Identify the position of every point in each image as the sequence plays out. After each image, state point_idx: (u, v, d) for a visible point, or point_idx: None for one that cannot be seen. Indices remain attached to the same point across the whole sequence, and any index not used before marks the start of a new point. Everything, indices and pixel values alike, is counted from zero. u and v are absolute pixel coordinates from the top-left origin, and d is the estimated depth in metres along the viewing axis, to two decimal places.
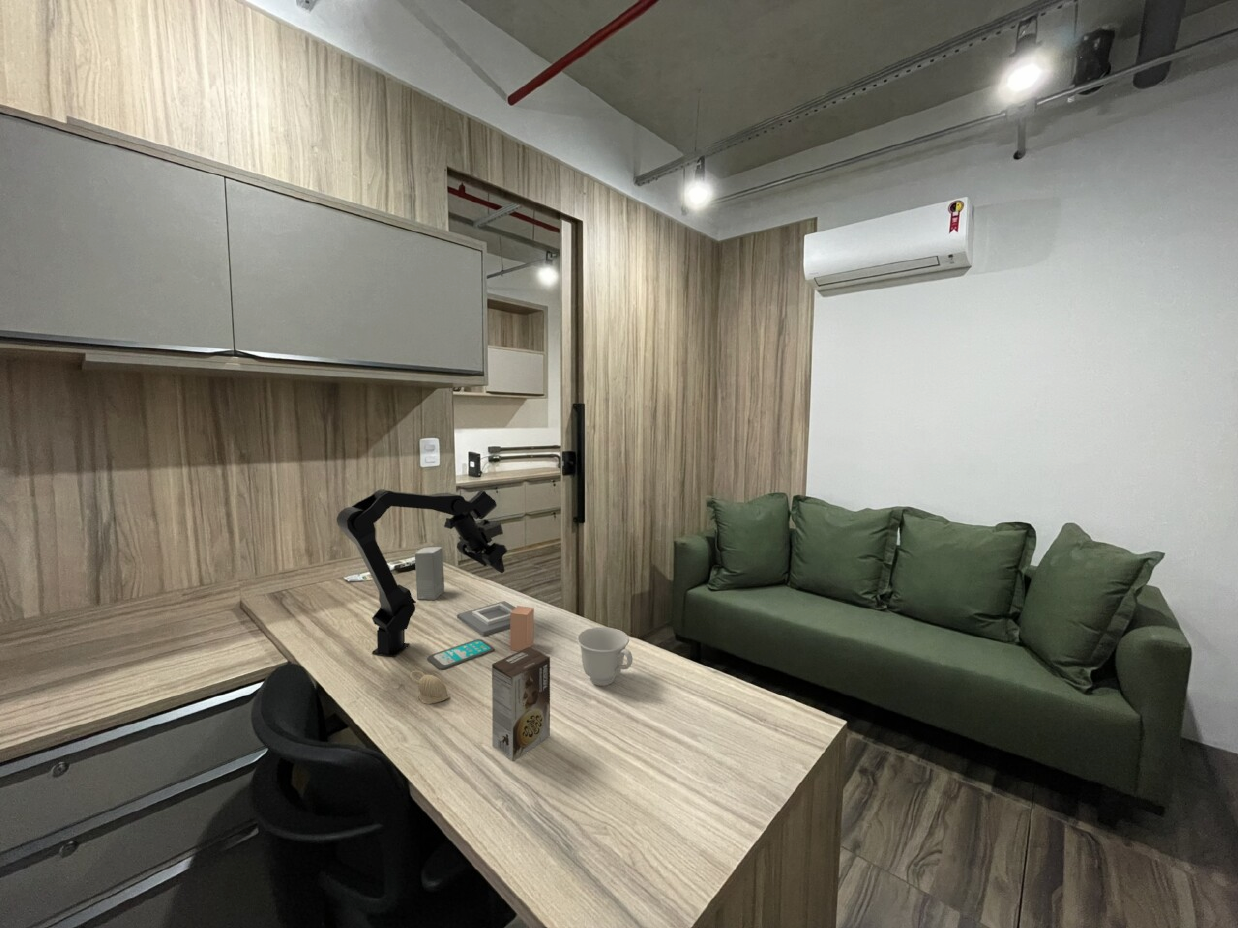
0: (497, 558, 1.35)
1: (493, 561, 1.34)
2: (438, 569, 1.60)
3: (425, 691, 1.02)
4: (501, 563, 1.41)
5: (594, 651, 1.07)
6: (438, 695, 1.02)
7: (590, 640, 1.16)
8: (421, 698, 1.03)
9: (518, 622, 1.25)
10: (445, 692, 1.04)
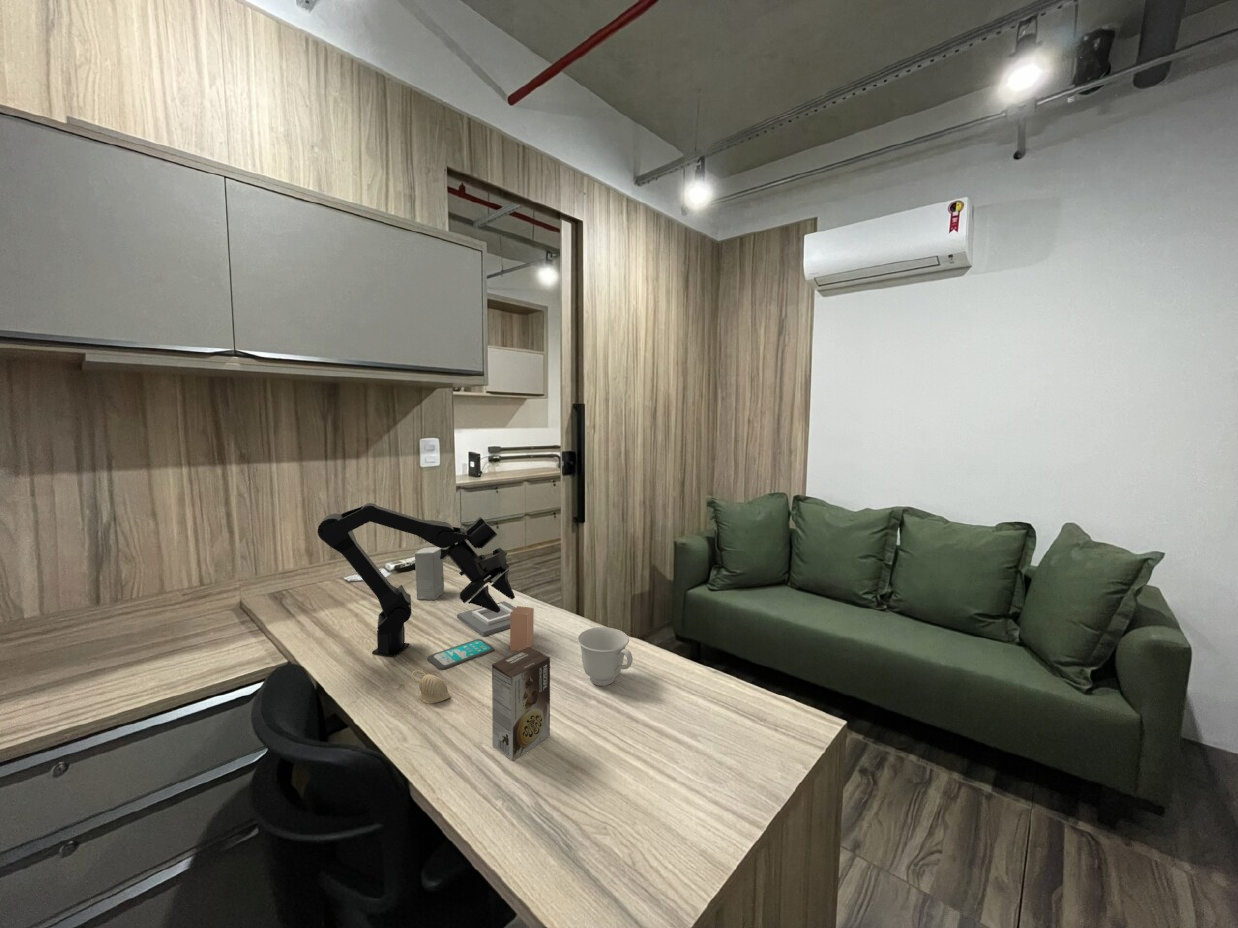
0: (467, 597, 1.19)
1: (463, 600, 1.20)
2: (438, 569, 1.60)
3: (426, 691, 1.02)
4: (490, 601, 1.22)
5: (594, 651, 1.07)
6: (439, 695, 1.02)
7: (590, 640, 1.16)
8: (422, 698, 1.03)
9: (518, 622, 1.25)
10: (446, 692, 1.04)
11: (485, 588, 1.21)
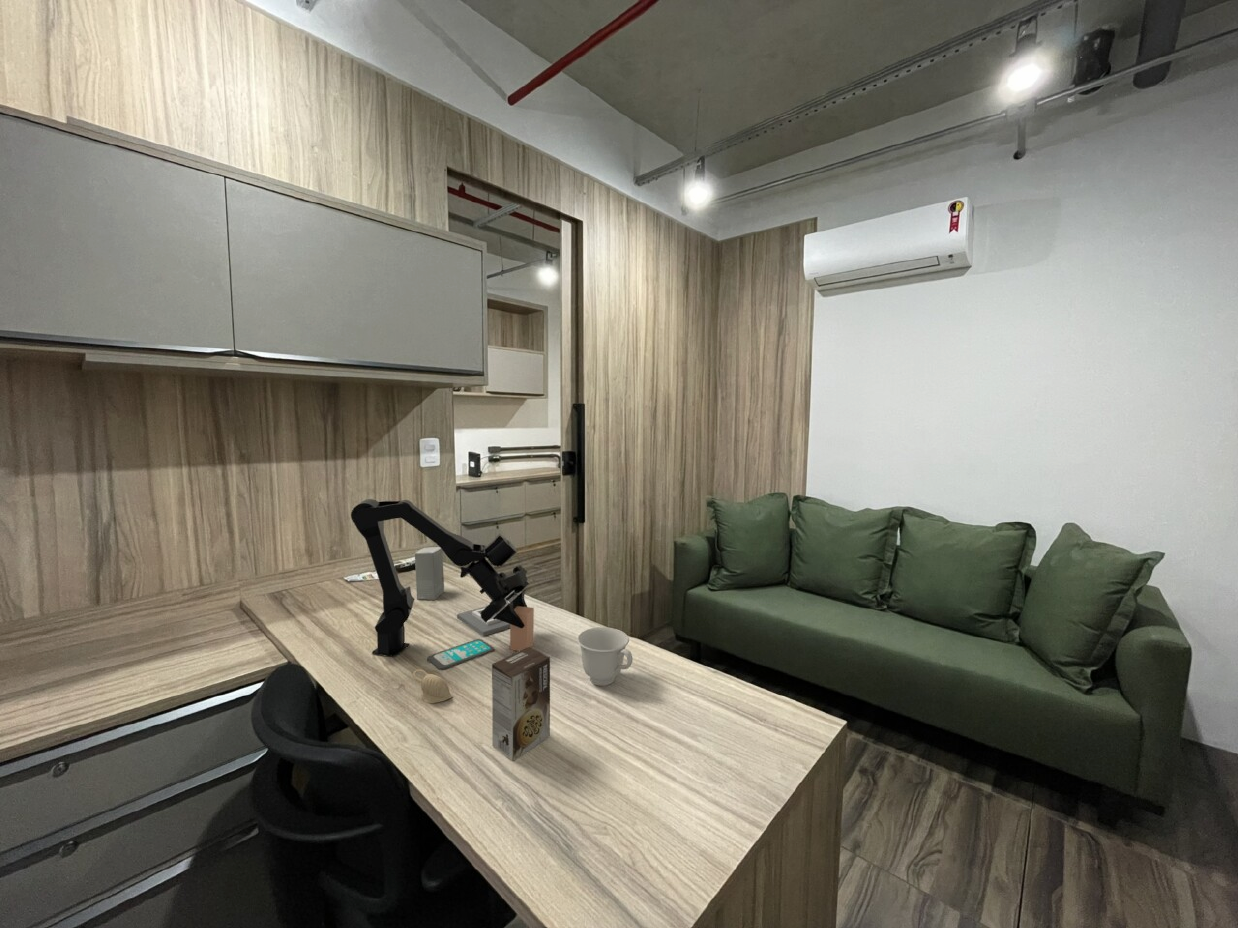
0: (489, 616, 1.19)
1: (485, 619, 1.19)
2: (438, 569, 1.60)
3: (427, 691, 1.02)
4: (514, 617, 1.23)
5: (594, 651, 1.07)
6: (440, 695, 1.02)
7: (590, 640, 1.16)
8: (424, 697, 1.03)
9: None
10: (448, 692, 1.04)
11: (510, 604, 1.22)
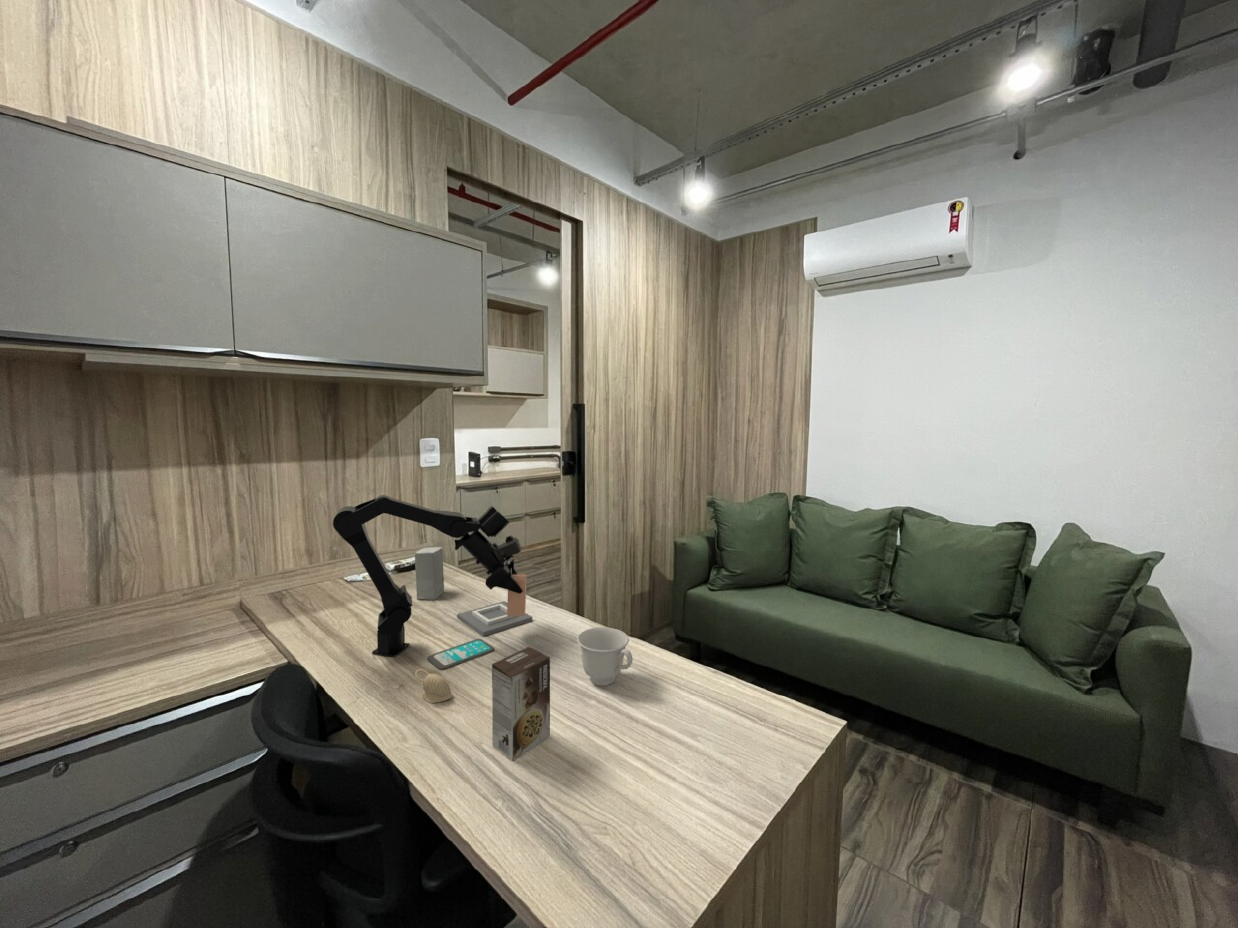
0: (495, 583, 1.23)
1: (491, 586, 1.23)
2: (438, 569, 1.60)
3: (429, 690, 1.02)
4: (514, 583, 1.29)
5: (594, 651, 1.07)
6: (442, 694, 1.02)
7: (590, 640, 1.16)
8: (425, 697, 1.03)
9: None
10: (449, 691, 1.04)
11: (511, 571, 1.28)
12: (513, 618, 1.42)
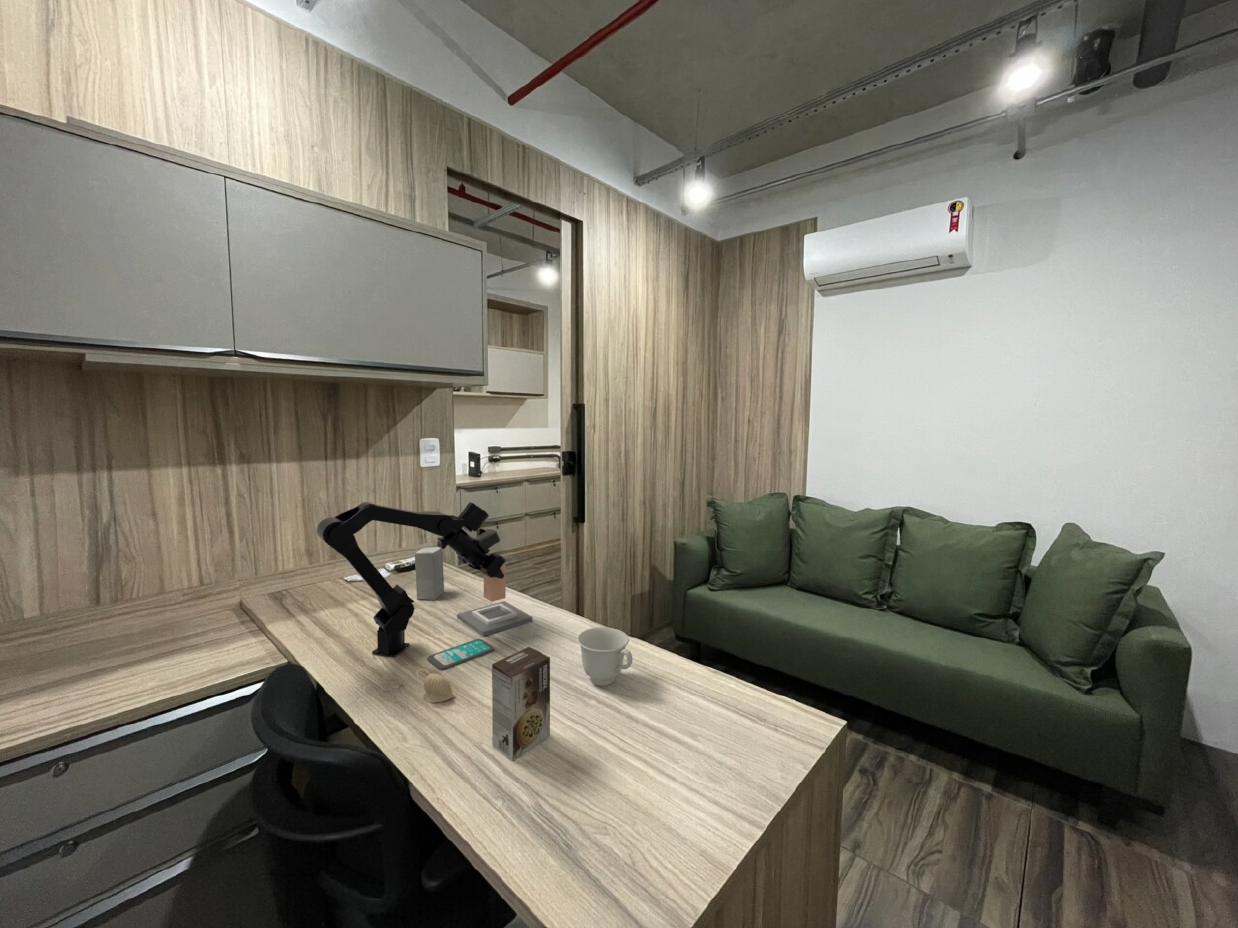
0: (496, 570, 1.32)
1: (492, 574, 1.32)
2: (438, 569, 1.60)
3: (430, 690, 1.02)
4: (499, 570, 1.40)
5: (594, 651, 1.07)
6: (443, 694, 1.02)
7: (590, 640, 1.16)
8: (426, 697, 1.03)
9: None
10: (450, 691, 1.04)
11: None
12: (513, 618, 1.42)
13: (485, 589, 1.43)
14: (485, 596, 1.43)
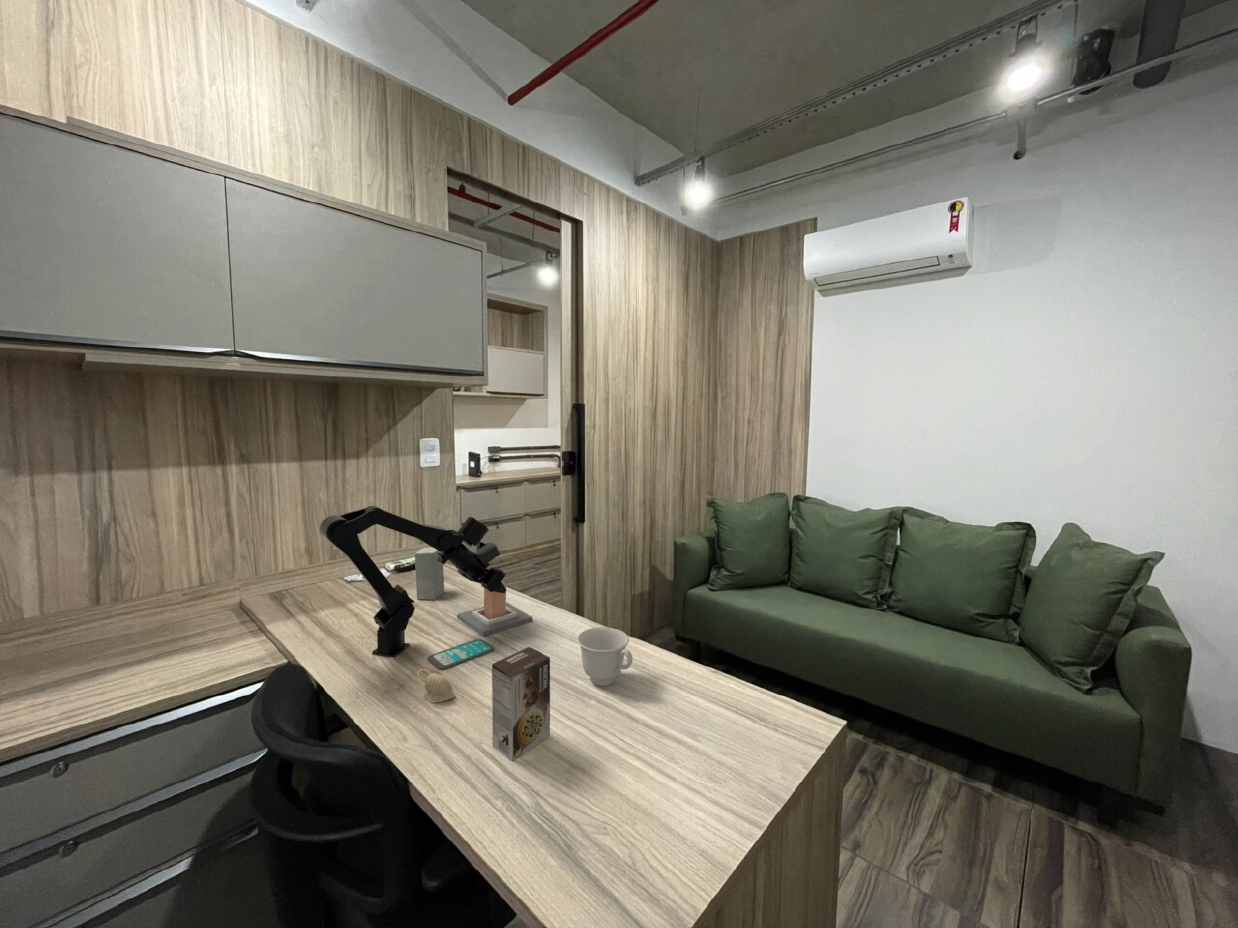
0: (496, 585, 1.33)
1: (492, 589, 1.32)
2: (438, 569, 1.60)
3: (431, 690, 1.03)
4: (501, 585, 1.39)
5: (594, 651, 1.07)
6: (443, 694, 1.02)
7: (590, 640, 1.16)
8: (427, 696, 1.04)
9: (498, 592, 1.42)
10: (451, 691, 1.04)
11: None
12: (513, 618, 1.42)
13: (485, 607, 1.43)
14: (485, 614, 1.43)
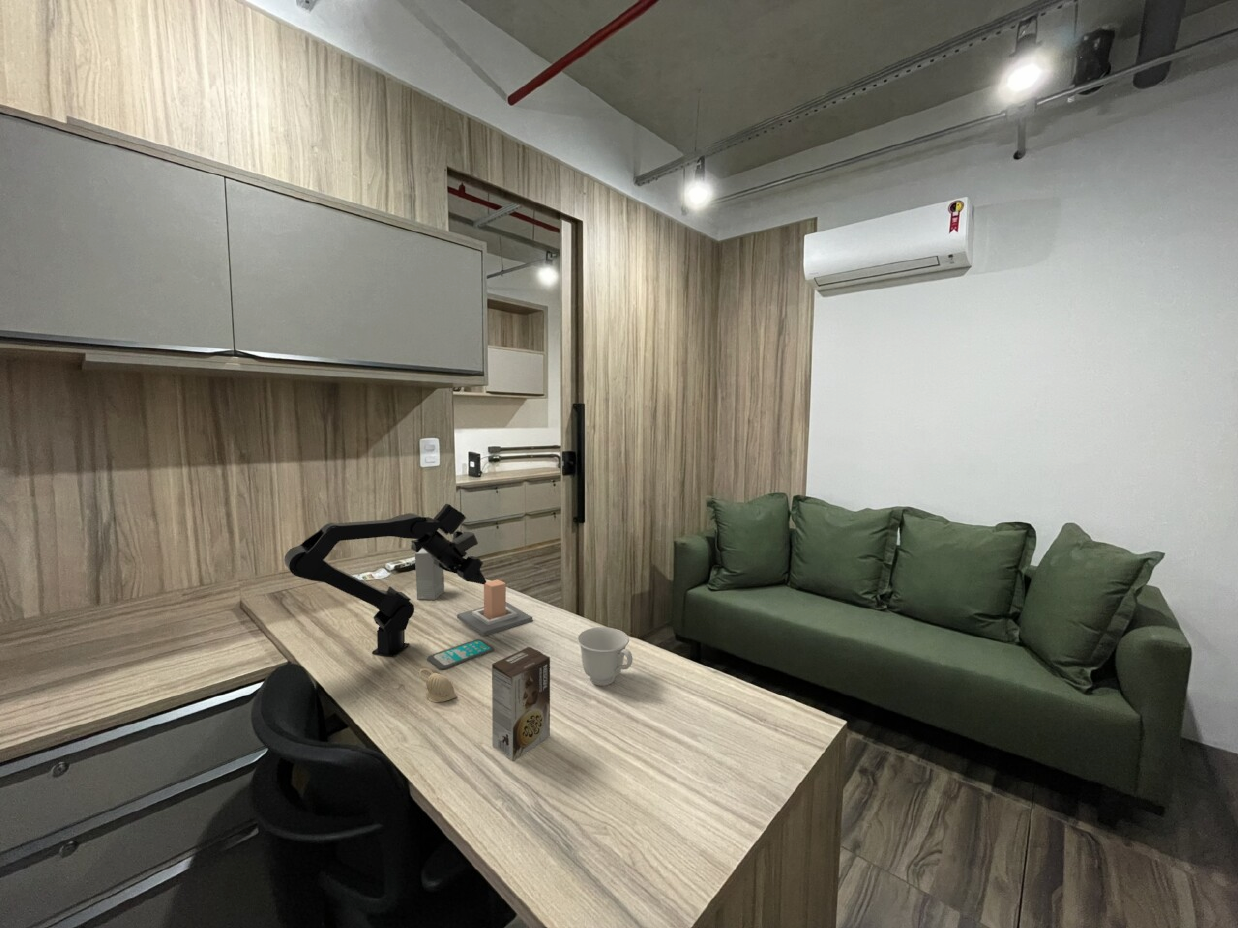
0: (473, 573, 1.28)
1: (469, 577, 1.27)
2: (438, 569, 1.60)
3: (432, 690, 1.03)
4: (480, 575, 1.34)
5: (594, 651, 1.07)
6: (445, 694, 1.02)
7: (590, 640, 1.16)
8: (429, 696, 1.04)
9: (498, 592, 1.42)
10: (452, 691, 1.04)
11: None
12: (513, 618, 1.42)
13: (485, 607, 1.43)
14: (485, 614, 1.43)
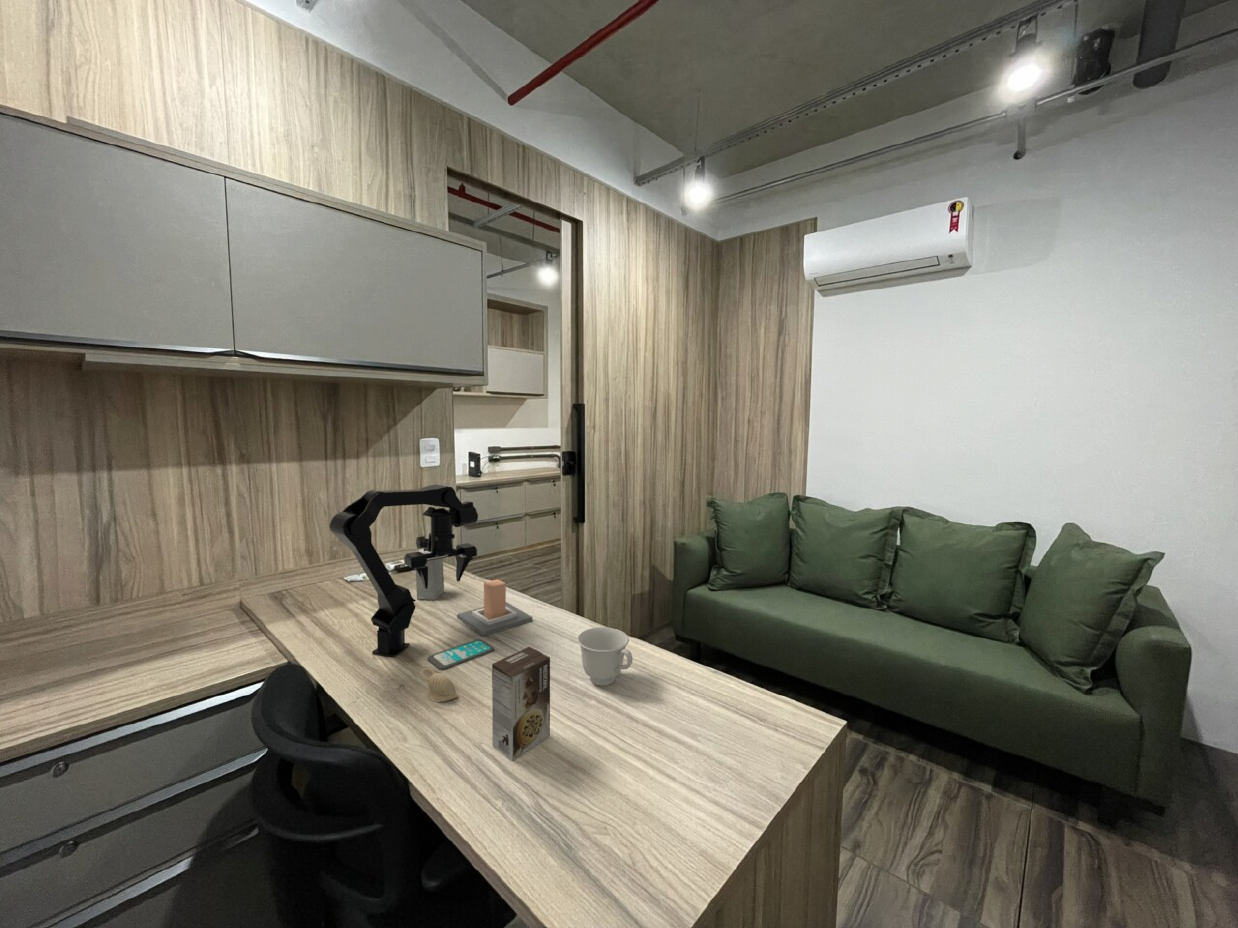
0: None
1: None
2: (438, 569, 1.60)
3: (434, 689, 1.03)
4: None
5: (594, 651, 1.07)
6: (446, 694, 1.02)
7: (590, 640, 1.16)
8: (430, 696, 1.04)
9: (498, 592, 1.42)
10: (454, 691, 1.04)
11: None
12: (513, 618, 1.42)
13: (485, 607, 1.43)
14: (485, 614, 1.43)
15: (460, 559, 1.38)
